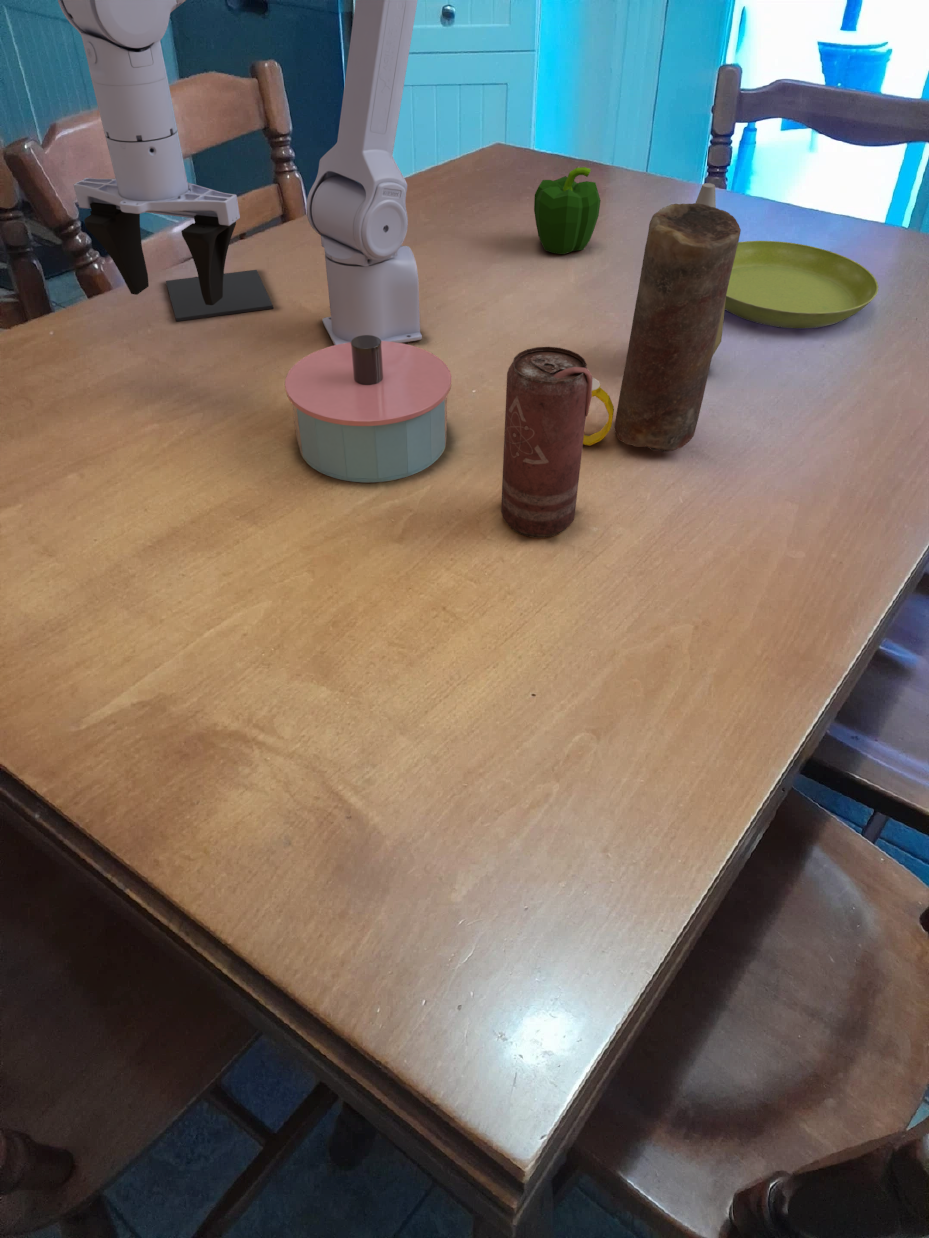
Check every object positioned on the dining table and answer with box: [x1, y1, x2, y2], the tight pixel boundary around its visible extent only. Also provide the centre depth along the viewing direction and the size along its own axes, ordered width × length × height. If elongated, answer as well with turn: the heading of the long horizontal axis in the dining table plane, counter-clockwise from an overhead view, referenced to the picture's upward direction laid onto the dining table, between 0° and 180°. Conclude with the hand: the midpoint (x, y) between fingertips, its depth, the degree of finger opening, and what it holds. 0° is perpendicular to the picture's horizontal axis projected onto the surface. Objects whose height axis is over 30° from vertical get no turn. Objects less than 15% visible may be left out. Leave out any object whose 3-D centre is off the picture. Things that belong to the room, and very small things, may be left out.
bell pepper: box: [533, 166, 602, 255], centre depth 115 cm, size 8×8×10 cm
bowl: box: [291, 396, 448, 483], centre depth 82 cm, size 14×14×6 cm
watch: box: [583, 377, 615, 447], centre depth 82 cm, size 6×3×6 cm, turn 79°
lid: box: [284, 335, 452, 426], centre depth 78 cm, size 15×15×4 cm
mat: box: [165, 269, 274, 322], centre depth 107 cm, size 11×11×1 cm
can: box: [500, 346, 593, 539], centre depth 70 cm, size 6×6×14 cm
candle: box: [613, 202, 742, 452], centre depth 77 cm, size 8×7×20 cm
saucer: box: [725, 240, 879, 330], centre depth 106 cm, size 21×21×3 cm
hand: (176, 295), depth 82 cm, fingers open, 7 cm apart
